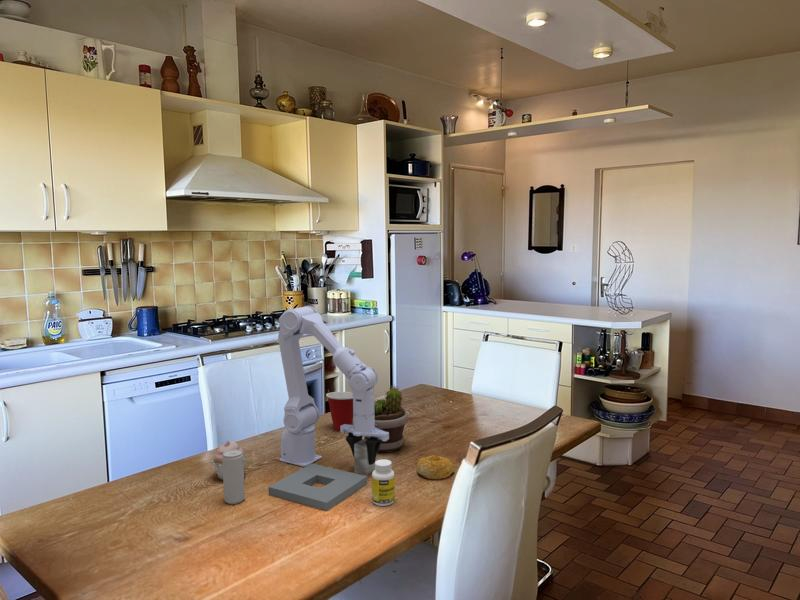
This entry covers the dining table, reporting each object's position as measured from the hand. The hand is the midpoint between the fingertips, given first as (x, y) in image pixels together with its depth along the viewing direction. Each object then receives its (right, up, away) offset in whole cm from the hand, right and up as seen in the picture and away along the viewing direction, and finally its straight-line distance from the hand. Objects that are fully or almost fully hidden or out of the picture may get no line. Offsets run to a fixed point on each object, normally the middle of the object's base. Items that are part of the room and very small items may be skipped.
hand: (364, 461), depth 155 cm
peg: (0, -3, 0) cm, 3 cm away
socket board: (-11, -4, -11) cm, 16 cm away
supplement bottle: (+6, -5, -18) cm, 19 cm away
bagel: (+19, -3, -1) cm, 19 cm away
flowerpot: (+5, -1, +18) cm, 19 cm away
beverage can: (-31, -5, -16) cm, 35 cm away
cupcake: (-36, -4, -2) cm, 36 cm away
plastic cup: (-9, +1, +36) cm, 37 cm away
